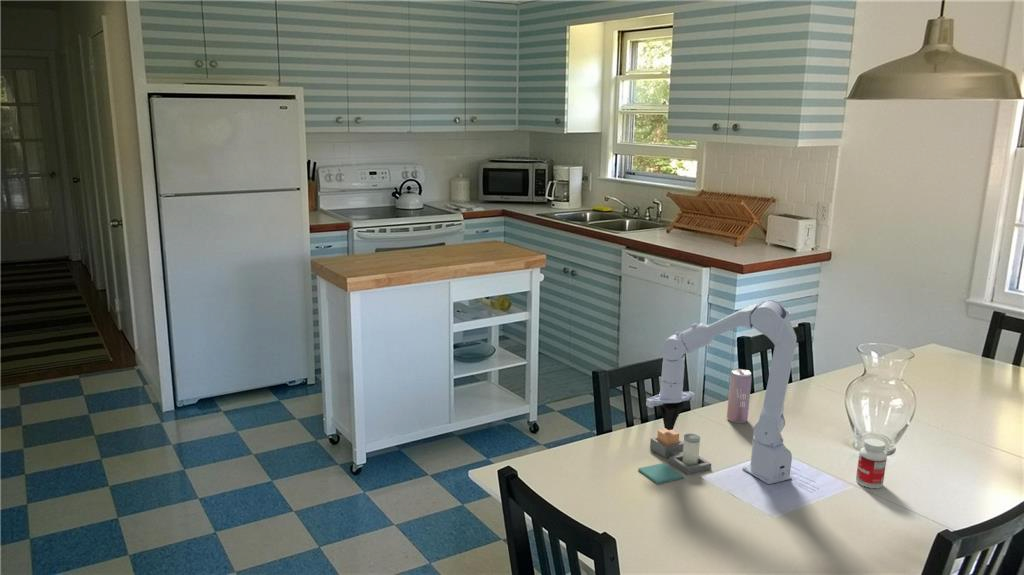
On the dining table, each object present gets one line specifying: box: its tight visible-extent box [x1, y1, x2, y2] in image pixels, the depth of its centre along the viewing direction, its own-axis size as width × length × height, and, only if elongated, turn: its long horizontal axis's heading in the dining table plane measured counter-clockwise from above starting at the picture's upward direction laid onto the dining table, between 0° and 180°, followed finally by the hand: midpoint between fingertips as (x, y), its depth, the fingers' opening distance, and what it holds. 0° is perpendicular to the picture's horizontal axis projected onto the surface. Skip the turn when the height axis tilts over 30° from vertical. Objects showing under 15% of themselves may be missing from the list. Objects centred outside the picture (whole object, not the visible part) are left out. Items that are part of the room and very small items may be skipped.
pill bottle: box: [855, 438, 888, 489], centre depth 191 cm, size 6×6×11 cm
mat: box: [637, 462, 685, 485], centre depth 194 cm, size 8×8×1 cm
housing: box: [649, 436, 712, 475], centre depth 203 cm, size 16×8×3 cm, turn 26°
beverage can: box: [726, 368, 752, 424], centre depth 229 cm, size 6×6×15 cm
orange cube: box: [656, 428, 680, 446], centre depth 207 cm, size 4×4×4 cm
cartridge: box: [682, 433, 701, 466], centre depth 198 cm, size 4×4×8 cm
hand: (668, 428), depth 206 cm, fingers closed
